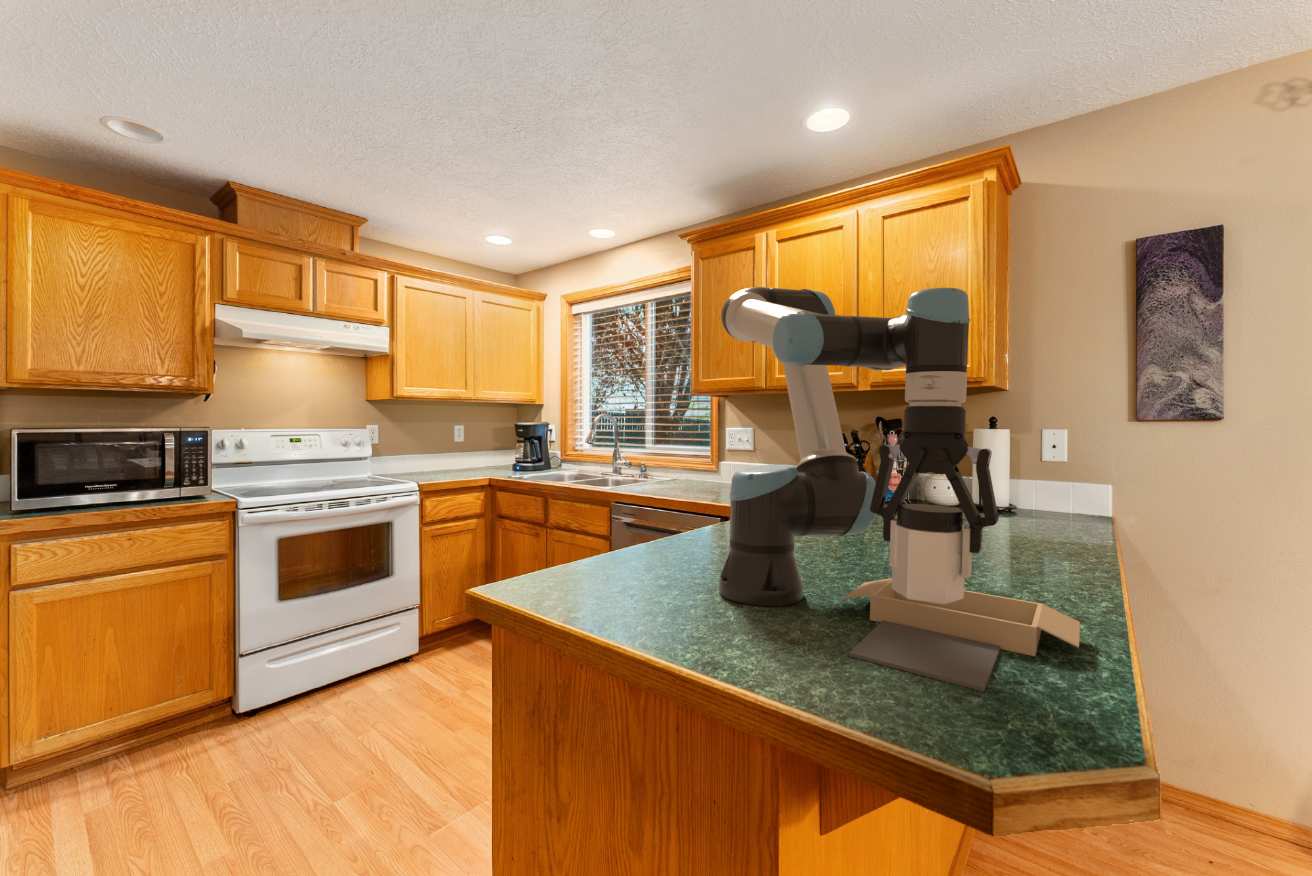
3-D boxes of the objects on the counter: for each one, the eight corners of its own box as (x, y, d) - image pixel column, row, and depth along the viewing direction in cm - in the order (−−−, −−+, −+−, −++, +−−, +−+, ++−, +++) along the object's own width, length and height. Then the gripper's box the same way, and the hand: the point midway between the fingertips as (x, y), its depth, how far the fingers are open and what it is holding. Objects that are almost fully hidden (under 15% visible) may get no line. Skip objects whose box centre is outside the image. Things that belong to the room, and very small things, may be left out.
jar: (937, 608, 73) (940, 515, 73) (880, 592, 80) (883, 506, 79) (974, 597, 78) (977, 510, 78) (918, 582, 85) (921, 502, 84)
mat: (848, 656, 78) (849, 652, 78) (882, 623, 90) (882, 620, 90) (983, 691, 68) (984, 687, 68) (1000, 649, 81) (1000, 646, 81)
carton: (840, 613, 95) (841, 588, 95) (865, 594, 105) (866, 572, 105) (1078, 665, 76) (1079, 635, 76) (1079, 636, 86) (1080, 609, 86)
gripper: (847, 404, 81) (843, 563, 82) (1024, 403, 69) (1017, 591, 69) (864, 406, 87) (860, 553, 88) (1029, 405, 75) (1023, 578, 75)
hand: (929, 570), depth 79 cm, fingers closed on jar, 8 cm apart
